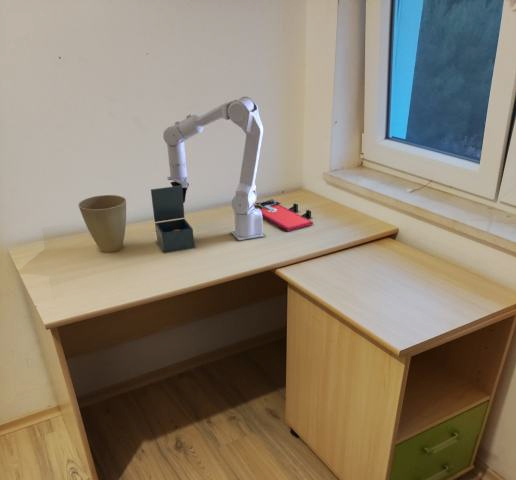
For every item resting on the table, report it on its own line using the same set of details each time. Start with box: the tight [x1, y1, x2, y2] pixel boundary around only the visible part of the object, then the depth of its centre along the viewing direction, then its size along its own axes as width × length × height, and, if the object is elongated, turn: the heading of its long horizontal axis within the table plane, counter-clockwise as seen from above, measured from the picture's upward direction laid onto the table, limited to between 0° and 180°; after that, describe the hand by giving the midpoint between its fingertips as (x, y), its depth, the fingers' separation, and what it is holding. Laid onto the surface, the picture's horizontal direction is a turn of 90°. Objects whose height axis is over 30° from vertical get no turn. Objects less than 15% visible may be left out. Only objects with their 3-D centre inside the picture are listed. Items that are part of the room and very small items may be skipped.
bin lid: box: [150, 186, 185, 223], centre depth 169 cm, size 11×10×1 cm
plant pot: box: [77, 194, 127, 253], centre depth 167 cm, size 15×15×16 cm
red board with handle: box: [254, 198, 314, 232], centre depth 194 cm, size 30×3×15 cm
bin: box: [154, 218, 195, 254], centre depth 171 cm, size 10×10×7 cm
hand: (181, 202), depth 179 cm, fingers closed
